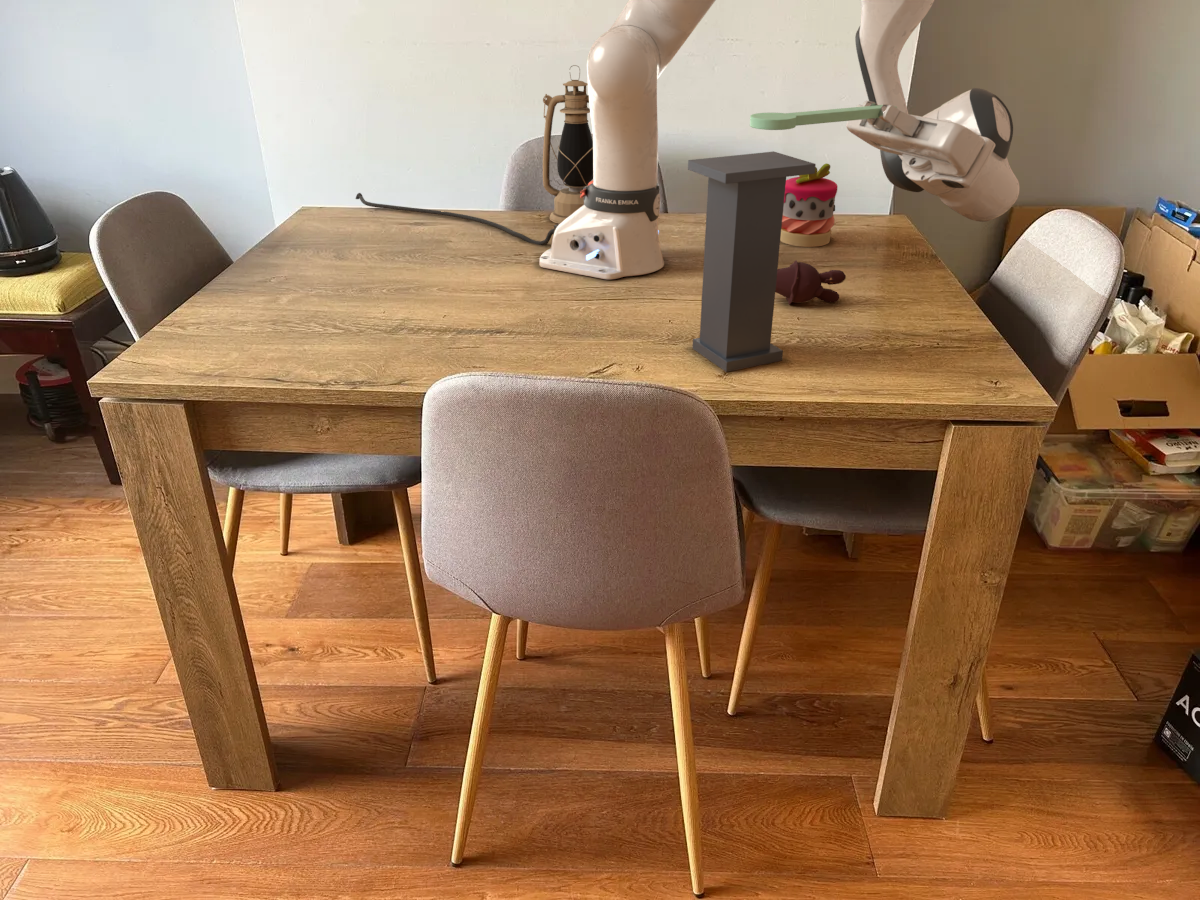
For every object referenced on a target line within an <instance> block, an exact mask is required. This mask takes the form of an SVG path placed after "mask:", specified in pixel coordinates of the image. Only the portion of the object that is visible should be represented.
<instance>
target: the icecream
mask: <svg viewBox="0 0 1200 900" xmlns="http://www.w3.org/2000/svg"><path fill="white" fill-rule="evenodd" d="M846 279H847V276H846V274H845V272H844V271H842V270H840V269H830V270H828V271H824V272H819V271H818V269H817V268H816V267H815V266H814V265H813V266H812V265H811V264H809V263H806V262H802V261H797V259H796V260H794V261H793V263H791V264H789V266H785V267H782V268H778V269H777V280H776V290H775V294H778V295H780V296H782V297H784V298H785V300H786V301H787V304H788V305H791V304H792V303H794V304H803V303H807V302H809V301H812V300H813V299H815V298H816V299H817V300H820V301H821V302H824V303H831V304H833V303H836V302H838V301H840V294H839V293H838V291H836V290H833V289H831V288H824V286H823V285H822V284H824V285H825V284H827V285H828V286H831V285H839V284H841V283H843V282H844V281H846Z"/></svg>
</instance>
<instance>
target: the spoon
mask: <svg viewBox="0 0 1200 900" xmlns="http://www.w3.org/2000/svg"><path fill="white" fill-rule="evenodd" d="M882 106H883V105H875V106H864V107H856V106H854V107H843V108H842V107H841V108H829V109H820V110H819V109H818V110H807V111H798V112H797V111H796V112H785V113H784V112H758V113H757V112H756V113H752V114H750V117H749V127H750V128H751V129H756V130H763V131H764V130H766V131H785V130H786V131H787V130H791V129H792V130H793V129H795V128H796V127H797V126H807V125H808V126H809V125H817V124H828V123H841V122H848V121H851V120H862V119H872V118H879V116H878V114H879V111H880V110H881V107H882ZM895 107H896V106H895ZM896 108H897V107H896Z"/></svg>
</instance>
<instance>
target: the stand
mask: <svg viewBox="0 0 1200 900" xmlns="http://www.w3.org/2000/svg"><path fill="white" fill-rule="evenodd" d="M816 165H817V164H816V163H814V162H811V161H807V160H805V159H801V158H798V157H793V156H791V155H788V154H783V153H780V152H778V151H773V150H772V151H765V152H755V153H746V154H736V155H735V154H734V155H725V156H717V157H716V156H715V157H706V158H694V159H688V160H687V170H688V171H690V172H693V173H696V174H699V175H701V176H703V177H706V178H707V197H706V213H705V214H706V216H705V230H704V231H705V233H704V252H703V268H702V269H703V270H702V288H701V309H700V324H699V337H697V338H692V350H693V351H695V352H697V353H698V354H699V355H701V356H702V357H704V358H705V359H707V360H708V361H710V362H711V363H712V364H713V365H715V366H717V367H718V368H720V370H723V371H724V372H726V373H729V372H733V371H737V370H738V371H739V370H743V369H747V368H754V367H757V366H763V365H767V364H772V363H777V362H781V361H783V356H784V355H783V354H784V350H783V349H781V348H779V347H778V346H776V345H774V344H773V343H771V341H772V331H773V321H774V310H775V299H776V292H775V290H776V280H777V269H779V258H780V247H781V241H780V238H781V227H782V217H783V207H784V196H785V186H786V180H787V177H788V178H789V177H794V176H795V177H799V175H806V174H814V173H815V167H816Z"/></svg>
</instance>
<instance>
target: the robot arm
mask: <svg viewBox="0 0 1200 900" xmlns="http://www.w3.org/2000/svg"><path fill="white" fill-rule="evenodd" d="M716 1H717V0H628V1H627V2H626V4H625V6H624V7H623V9H622V10H621V12H620V13H619V14H618V16H617V18H616V20H614V23H613V24H612V25H611V26H610V28H609V29H608V30H607V31H605V32H604V33H602V34H601V35H599V37H597V38H596V40H594V42H593V43H592V45H591V47H590V49H589V52H588V55H587V59H586V60H587V61H586V72H587V73H586V76H587V83H588V85H587V91H588V93H587V94H588V95H589V103H588V104H589V109H590V113H589V115H590V122H591V123H590V124H591V134H592V140H593V180H592V181H591V182H589V184H588V186H586V187H585V188H583V191H581V192H580V193H582V194H581V196H580V198H583V200H584V205H583V206H582V207H580V208H579V209H578V210H576V211H575V212H574V213H573V214H571V215H570V216H569V217H568V218H566V219H565V220H564V221H563V222H562V223H560V224H559V223H557V224H554V225H553V228H551V229H549V231H548V232H547V234H546V237H545V239H543V240H539V241H538V240H535V239H532V238H530V237H529V236H527V235H524V234H523V233H520V232H517V231H515V230H512V229H511V228H508V227H506V226H504V225H502V224H499V223H496V222H494V221H491V220H488V219H484V218H480V217H476V216H472V215H467V214H462V213H458V212H457V213H456V212H450V211H444V212H441V211H442V210H435V209H427V208H420V207H411V206H410V207H409V206H401V205H392V204H386V203H385V204H384V203H375V202H371V201H367V200H365V198H364V196H363V194H362V193H361V192H358V193H357V194H356V196H355V200H359V201H360V202H361V203H362V204H363V205H365V206H366V207H371V208H377V209H386V210H396V211H403V212H410V213H411V212H413V213H420V214H428V215H435V216H436V215H438V216H445V217H451V218H457V219H463V220H467V221H472V222H477V223H480V224H483V225H487V226H490V227H494V228H496V229H498V230H501V231H503V232H505V233H507V234H509V235H511V236H513V237H516V238H518V239H521V240H523V241H525V242H527V243H529V244H533V245H537V246H545V245H548V244H549V242H550V241H551V247H550V248H548V249H547V250H545V251H544V252H542V254H541V255H540V256H539V263H538V264H539V267H541V268H542V269H543V268H544V269H549V270H554V271H558V272H559V271H560V272H565V273H570V274H574V275H580V276H585V277H591V278H596V279H602V280H616V279H620V278H623V277H633V276H642V275H648V274H651V273H654V272H658V271H659V270H661V269H662V268H663V267H664V266H665V261H664V257H663V253H662V248H661V242H660V234H659V233H660V230H659V224H658V223H659V222H658V218H659V217H660V216H659V215H660V210H661V194H660V184H659V183H658V170H659V169H658V167H659V166H658V164H659V124H658V79H659V78H660V77H661V75H662V73H664V71H665V70H666V69H667V67H668V66H669V64H670V62H671V61H672V60H673V58H674V57H675V56H676V55H677V53H678V52H679V51H680V49H681V48H682V47H683V45H684V44H685V42H686V41H687V40H688V39H689V37H690V36H691V34H693V32H694V30H695V29H696V27H697V26H698V25H699V24H700V22H701V21H702V19H703V18H704V17H705V16H706V14H707V13H708V12H709V10H710V9H711V8H712V6H713V5H714V4H715V2H716ZM859 1H860V2H859V3H860V24H859V27H858V29H857V30H856V33H855V35H854V36H855V38H854V39H855V50H856V54H857V59H858V60H857V61H858V64H859V69H860V72H861V77H862V81H863V84H864V88H865V92H866V95H867V100H865V101H864V102H863V103H862V104H857V105H856V106H855V107H864V106H875V105H883V106H882V107H881V110H880V111H879V114H878V116H879V118H872V119H862V120H851V121H846V125H845V126H846V129H847V131H848V132H850V133H851V134H853V135H854V136H855V137H857V138H858V139H860V140H861V141H863V142H865V143H866V144H868V145H870V146H871V147H874V148H876V149H878V150H879V152H880V161H881V165H882V169H883V172H884V174H885V177H886V178H887V180H888V182H889V183H891V185H893V186H895V187H896V188H898V189H901V190H904V191H907V192H912V193H920V192H924V191H925V192H927V193H929V194H931V195H933V196H936V197H938V198H939V200H940V201H941V202H942V203H943V204H944V205H945V206H947V207H948V208H949V209H951V210H953V211H954V212H955V213H957V214H959V215H960V216H962V217H964V218H967V219H969V220H970V221H975V222H982V223H983V222H989V221H992V220H995V219H997V218H999V217H1000V216H1002V215H1004V214H1005V213H1007V212H1008V211H1009V210H1010V209H1011V208H1012V207H1013V206H1014V204H1015V203H1016V202H1017V200H1018V198H1019V195H1020V181H1019V179H1018V178H1017V176H1016V174H1015V173H1014V171H1013V170H1012V168H1011V165H1010V163H1009V159H1008V155H1009V152H1010V150H1011V149H1010V148H1011V145H1012V140H1013V135H1014V123H1013V118H1012V114H1011V112H1010V111H1009V109H1008V106H1006V104H1005V103H1004V102H1003V100H1002V99H1001V98H999V96H998V95H996V94H994V93H993V92H992V91H989V90H986V89H984V88H979V87H972V88H971V89H969V90H967V91H964V92H962V93H961V94H958V95H957V96H955V97H953V98H952V99H950V100H948V101H946V102H944V103H943V104H941V105H940V106H939V107H937V108H935V109H932V110H931V111H929V112H927V113H926V114H924V115H922V116H920V115H916V114H911V113H909V110H908V106H907V103H906V98H905V95H904V90H903V87H902V83H901V80H900V75H899V70H898V69H899V68H898V67H899V66H898V64H899V60H900V55H901V52H902V51H903V48H904V46H905V45H906V43H907V41H908V40H909V39H910V36H911V35H912V34H913V32H914V31H915V30H916V28H917V27H918V26H919V25H920V24H921V22H922V21H923V20H924V18H925V17H926V16H927V14H928V13H929V11H930V10H931V8H932V6H933V4H934V2H935V0H859ZM895 106H896V107H897V108H896V107H895ZM551 238H552V240H551Z"/></svg>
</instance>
